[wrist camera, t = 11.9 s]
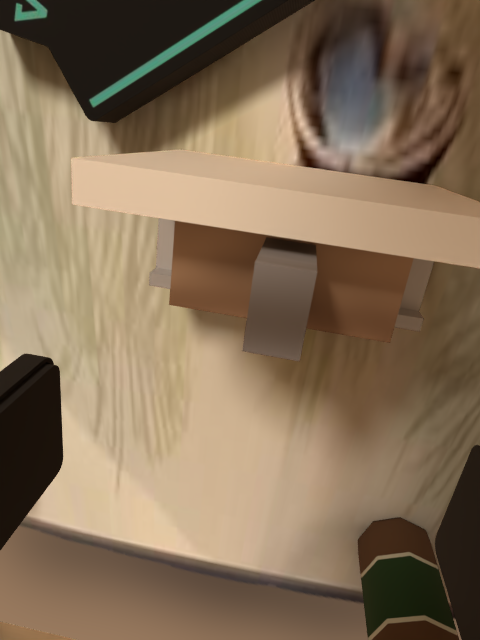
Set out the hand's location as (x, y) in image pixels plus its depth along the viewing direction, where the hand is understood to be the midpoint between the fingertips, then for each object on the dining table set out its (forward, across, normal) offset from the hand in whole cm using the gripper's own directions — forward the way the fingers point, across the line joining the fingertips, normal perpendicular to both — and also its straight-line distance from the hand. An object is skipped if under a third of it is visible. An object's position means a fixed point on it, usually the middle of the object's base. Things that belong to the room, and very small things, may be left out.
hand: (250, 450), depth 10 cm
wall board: (+29, 0, 0) cm, 29 cm away
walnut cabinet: (+24, 0, 0) cm, 24 cm away
